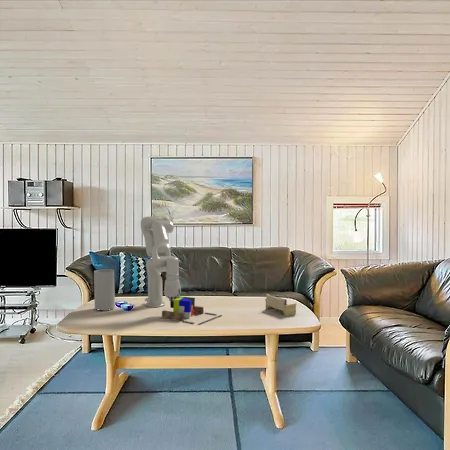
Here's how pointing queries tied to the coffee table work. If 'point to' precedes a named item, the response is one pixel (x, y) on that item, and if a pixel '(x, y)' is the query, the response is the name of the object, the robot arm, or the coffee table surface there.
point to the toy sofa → (280, 305)
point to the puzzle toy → (184, 306)
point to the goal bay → (204, 321)
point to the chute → (180, 314)
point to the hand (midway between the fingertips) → (173, 307)
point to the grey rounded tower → (104, 289)
